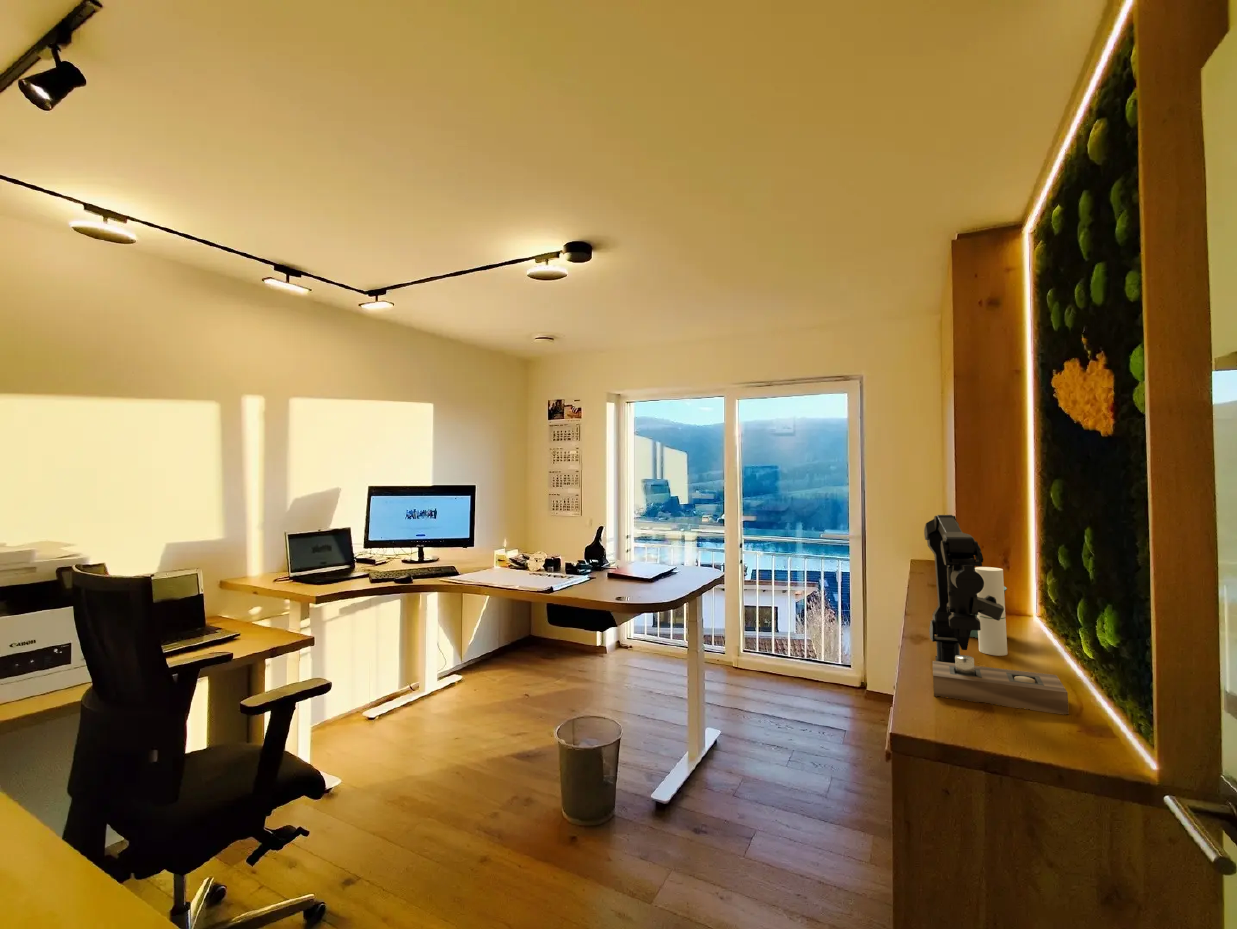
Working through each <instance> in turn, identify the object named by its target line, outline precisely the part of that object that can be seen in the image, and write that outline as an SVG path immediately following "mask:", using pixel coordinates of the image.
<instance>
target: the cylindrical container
mask: <svg viewBox="0 0 1237 929" xmlns="http://www.w3.org/2000/svg"><path fill="white" fill-rule="evenodd" d="M975 571H976V572H977V573H978V574H980V575H981V577H982V578H983V581H984V587H983V589H982V590H981V592H979V593H977V597H980V598H985V597H987V596H988V595H990V596H992V597H995V599H996V603H997V604H1000V605H1002V606H1003V608H1004V611H1003V613H1002V616H1001V618H1000V620H999V621H998V620H995V619H993V618H992V617H989V616H986V615H984V614H981V613H979V612H978V615H977V618H978V619H979V620H980V627H981V630H979V631H978V638H977V639H978V640H977V641H978V651H979V652H980V653H983V654H986V655H990V656H999V657H1001V656H1002V657H1003V656H1007V655H1008V640H1007V638H1008V637H1007V622H1006V600H1005V598H1006V597H1005V598H1004V586H1005V583H1004V581H1005V580H1004V569H1003V568H999V567H991V566H975Z"/></svg>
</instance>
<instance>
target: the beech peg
mask: <svg viewBox="0 0 1237 929" xmlns="http://www.w3.org/2000/svg"><path fill="white" fill-rule="evenodd" d="M1014 681H1021V682H1029V683H1035V680H1034V679H1032V678H1029V677H1024V676H1016V677H1014Z"/></svg>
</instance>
